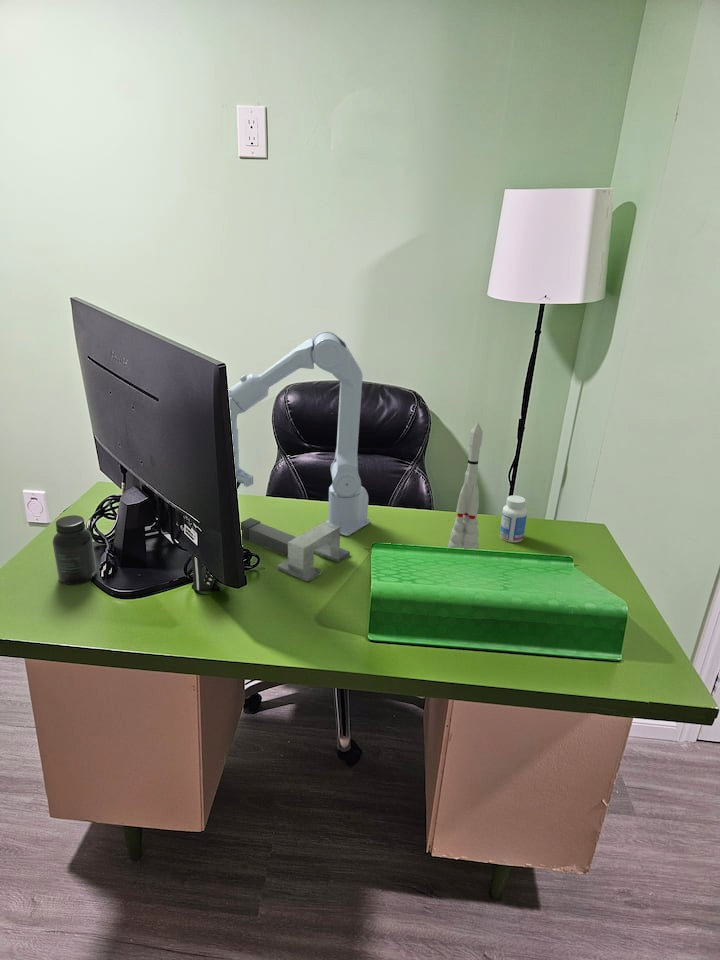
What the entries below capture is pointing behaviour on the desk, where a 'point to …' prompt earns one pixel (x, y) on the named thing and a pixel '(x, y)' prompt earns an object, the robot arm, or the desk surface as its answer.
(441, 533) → the desk surface
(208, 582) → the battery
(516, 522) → the pill bottle
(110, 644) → the desk surface
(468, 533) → the rocket model
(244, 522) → the plug
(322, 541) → the mounting bracket
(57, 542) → the supplement bottle
